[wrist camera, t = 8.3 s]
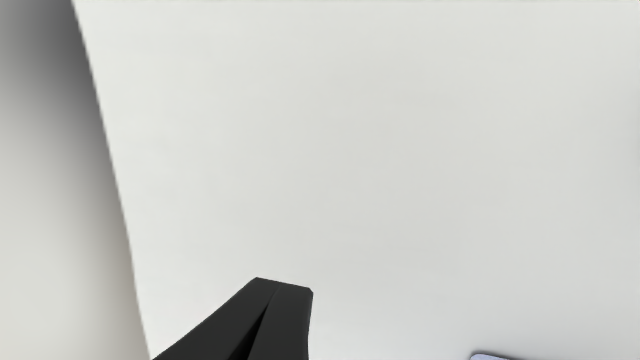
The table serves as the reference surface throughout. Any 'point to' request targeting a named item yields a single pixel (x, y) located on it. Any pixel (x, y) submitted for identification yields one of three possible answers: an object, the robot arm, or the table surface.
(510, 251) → the table surface
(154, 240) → the table surface
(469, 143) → the table surface
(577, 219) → the table surface
